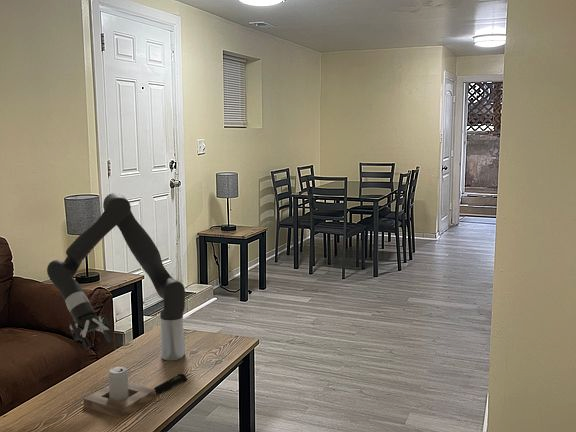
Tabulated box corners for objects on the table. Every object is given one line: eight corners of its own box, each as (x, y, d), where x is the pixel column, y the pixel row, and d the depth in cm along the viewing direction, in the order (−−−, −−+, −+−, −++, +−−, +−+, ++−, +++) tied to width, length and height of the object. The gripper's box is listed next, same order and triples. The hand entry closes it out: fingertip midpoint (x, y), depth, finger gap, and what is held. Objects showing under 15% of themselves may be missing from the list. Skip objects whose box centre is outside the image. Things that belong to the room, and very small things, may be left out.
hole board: (119, 387, 212) (119, 379, 211) (155, 397, 204) (155, 389, 204) (83, 406, 197) (83, 398, 196) (121, 418, 189) (120, 409, 189)
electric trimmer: (150, 394, 208) (150, 386, 207) (180, 378, 220) (180, 370, 220) (158, 397, 206) (158, 388, 205) (188, 381, 218) (187, 373, 218)
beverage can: (123, 407, 197) (122, 374, 195) (106, 405, 198) (104, 372, 196) (131, 399, 203) (130, 366, 201) (114, 397, 204) (113, 365, 202)
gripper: (65, 306, 202) (86, 344, 197) (100, 296, 213) (121, 333, 208) (58, 317, 206) (78, 355, 201) (92, 307, 217) (112, 344, 212)
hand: (99, 344), depth 204 cm, fingers open, 8 cm apart
